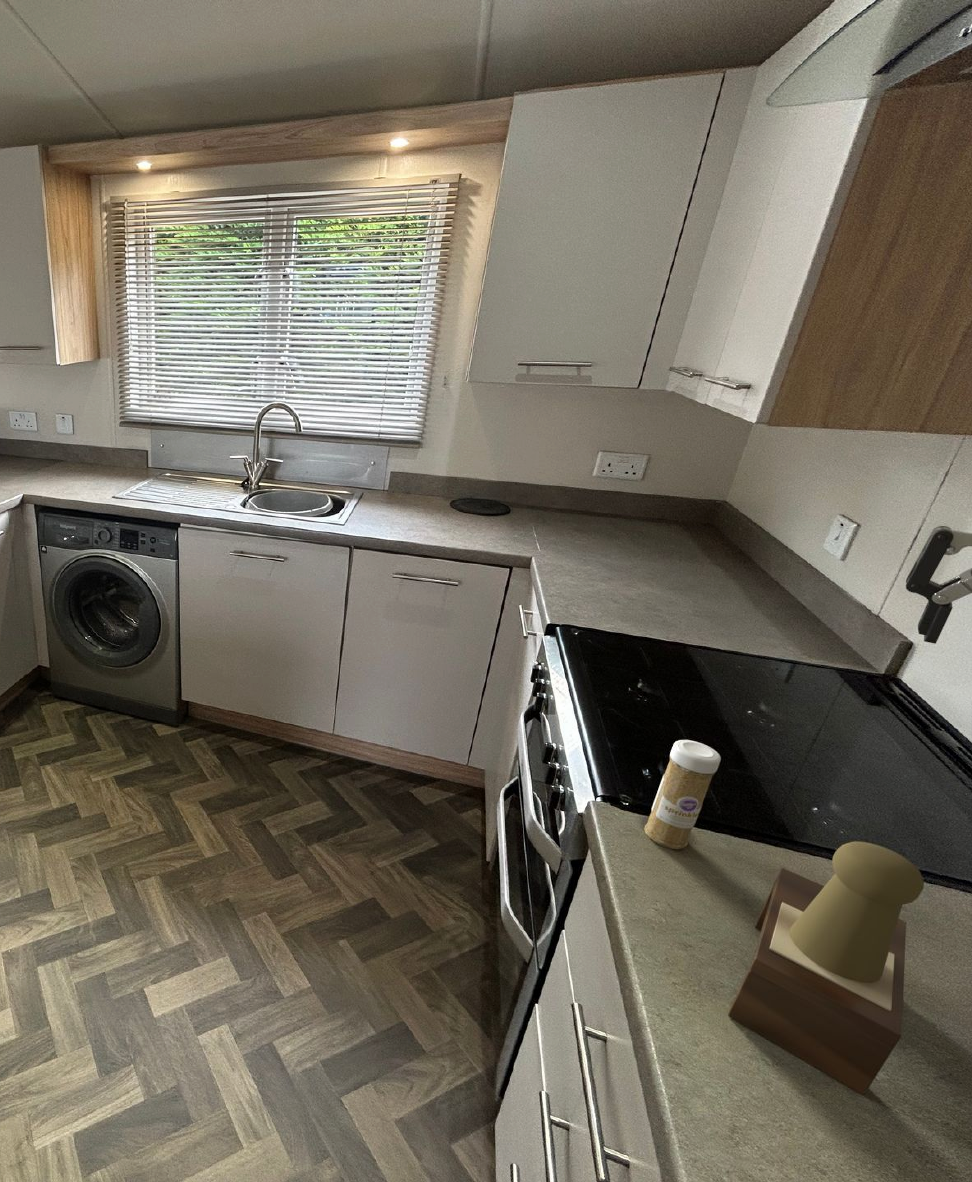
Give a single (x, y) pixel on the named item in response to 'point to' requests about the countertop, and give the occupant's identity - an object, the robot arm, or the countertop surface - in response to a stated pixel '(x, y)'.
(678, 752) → the sprinkles bottle
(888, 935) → the cork
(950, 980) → the countertop surface
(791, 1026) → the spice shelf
